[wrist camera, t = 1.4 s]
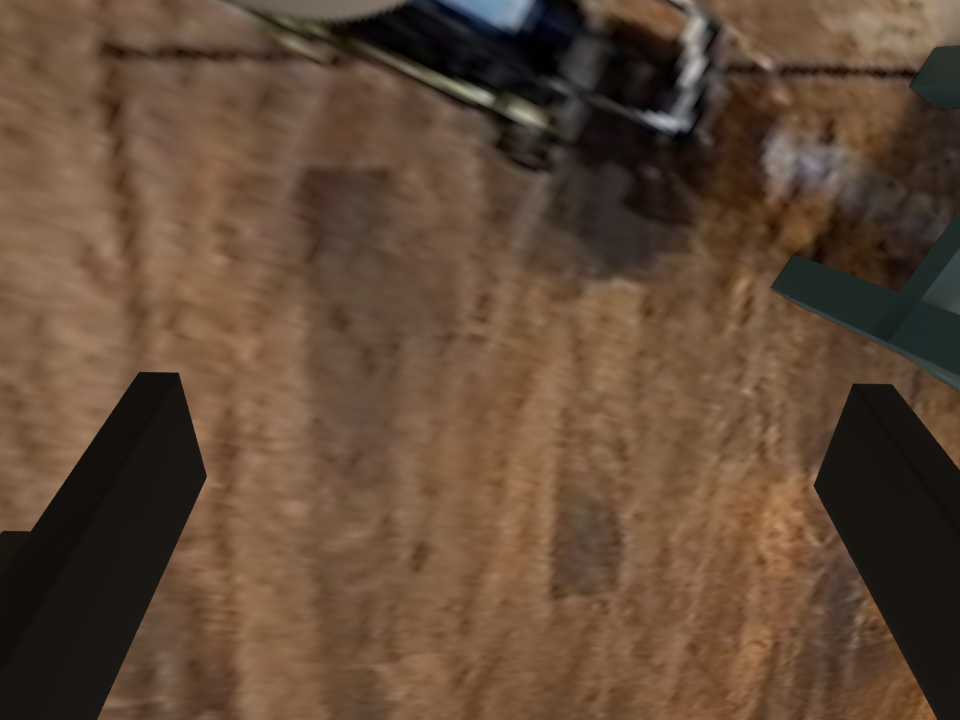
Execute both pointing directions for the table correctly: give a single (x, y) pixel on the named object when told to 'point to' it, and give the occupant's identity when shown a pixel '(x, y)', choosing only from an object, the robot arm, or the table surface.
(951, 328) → the stand
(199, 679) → the table surface
